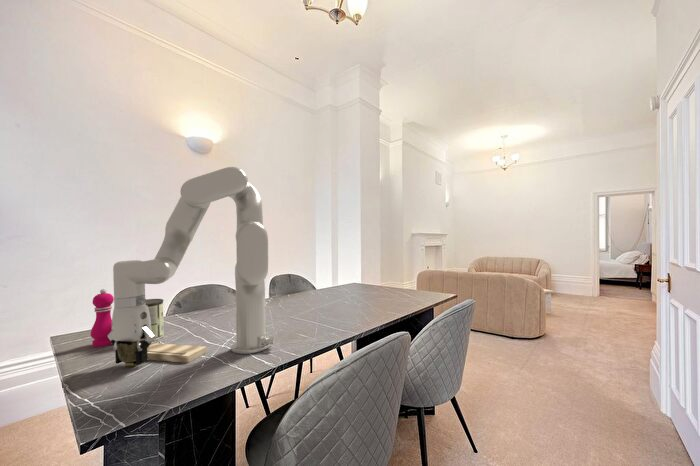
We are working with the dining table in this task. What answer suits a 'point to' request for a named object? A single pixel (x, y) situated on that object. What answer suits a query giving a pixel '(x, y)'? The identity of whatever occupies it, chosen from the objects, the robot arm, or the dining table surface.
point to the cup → (128, 352)
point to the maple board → (175, 352)
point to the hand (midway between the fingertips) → (131, 361)
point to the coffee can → (156, 317)
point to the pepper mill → (102, 319)
